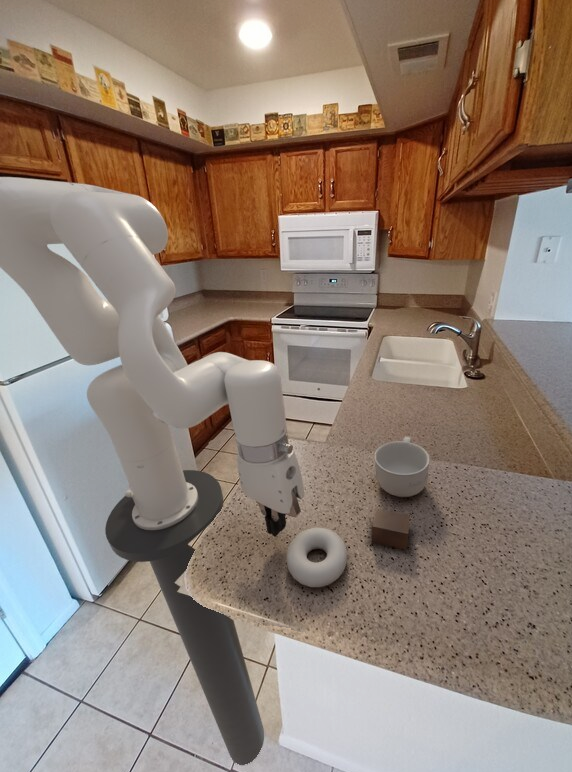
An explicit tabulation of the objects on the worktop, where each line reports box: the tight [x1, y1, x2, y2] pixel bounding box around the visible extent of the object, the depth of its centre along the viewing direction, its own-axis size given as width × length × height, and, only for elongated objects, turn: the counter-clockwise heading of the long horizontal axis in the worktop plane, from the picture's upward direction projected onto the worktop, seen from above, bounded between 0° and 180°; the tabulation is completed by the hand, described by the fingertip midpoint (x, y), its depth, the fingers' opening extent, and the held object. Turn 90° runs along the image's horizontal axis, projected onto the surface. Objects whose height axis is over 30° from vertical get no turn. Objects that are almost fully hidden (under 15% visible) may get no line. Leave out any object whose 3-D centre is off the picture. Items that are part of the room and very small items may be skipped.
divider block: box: [371, 508, 411, 551], centre depth 57 cm, size 6×4×4 cm, turn 73°
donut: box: [285, 527, 348, 588], centre depth 53 cm, size 10×4×10 cm
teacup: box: [373, 436, 431, 498], centre depth 68 cm, size 14×11×8 cm
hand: (277, 529), depth 57 cm, fingers closed
